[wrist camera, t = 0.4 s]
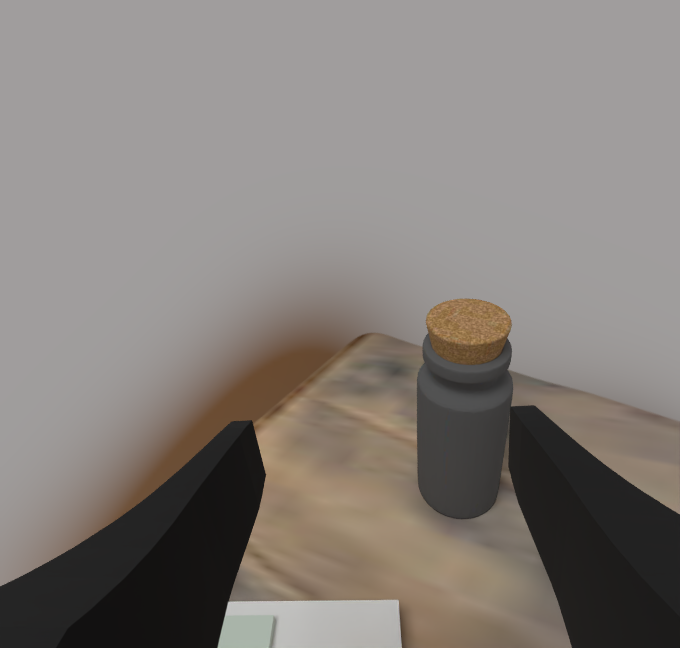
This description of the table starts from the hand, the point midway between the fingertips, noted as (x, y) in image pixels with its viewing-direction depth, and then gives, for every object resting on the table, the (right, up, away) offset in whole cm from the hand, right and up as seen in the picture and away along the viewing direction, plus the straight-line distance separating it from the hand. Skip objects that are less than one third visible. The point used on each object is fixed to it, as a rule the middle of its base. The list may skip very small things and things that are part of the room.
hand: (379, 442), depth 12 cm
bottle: (+8, -9, +21) cm, 24 cm away
